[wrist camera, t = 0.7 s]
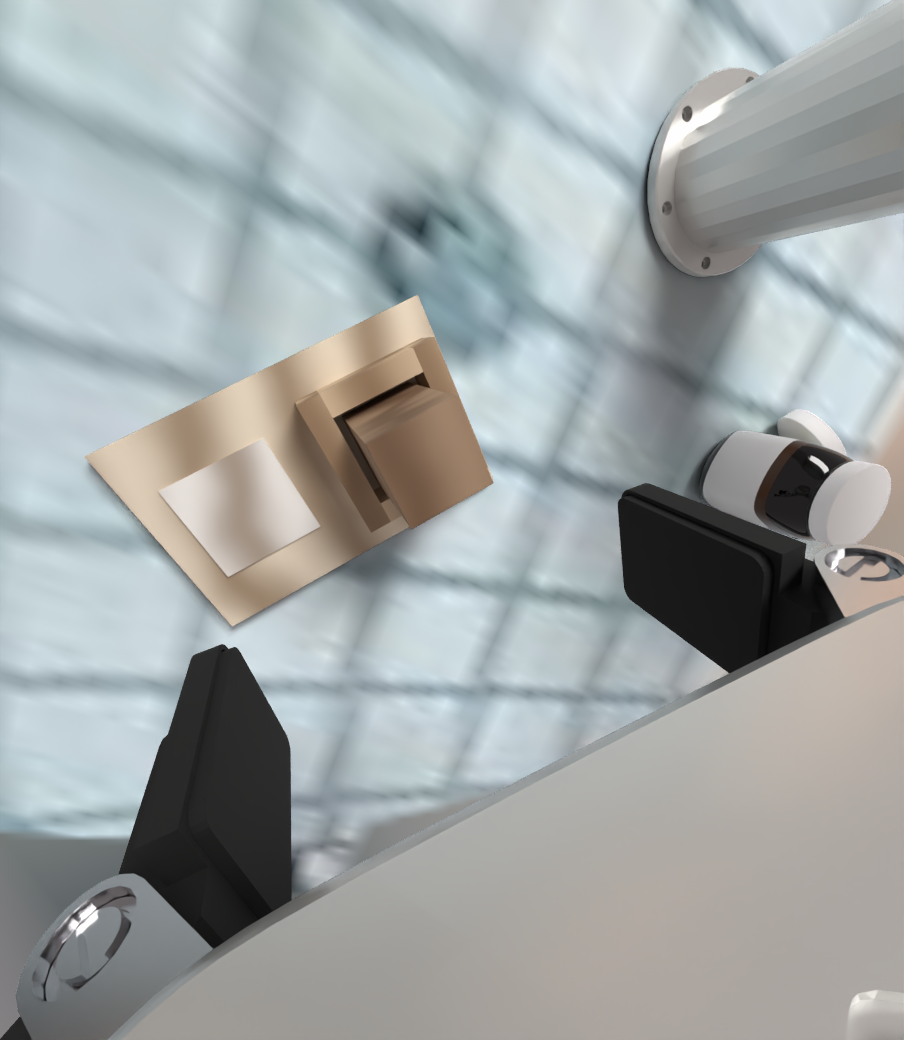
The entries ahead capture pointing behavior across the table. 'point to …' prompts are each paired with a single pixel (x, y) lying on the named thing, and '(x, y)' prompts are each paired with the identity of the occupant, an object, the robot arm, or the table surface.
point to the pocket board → (276, 465)
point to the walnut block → (419, 450)
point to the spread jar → (796, 482)
